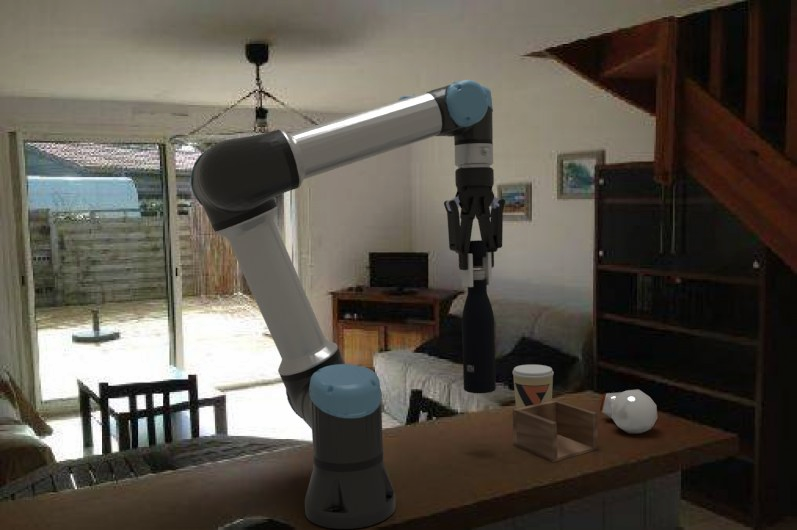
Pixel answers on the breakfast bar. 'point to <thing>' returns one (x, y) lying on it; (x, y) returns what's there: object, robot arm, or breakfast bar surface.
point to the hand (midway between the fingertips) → (477, 285)
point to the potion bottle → (630, 410)
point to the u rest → (555, 430)
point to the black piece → (478, 329)
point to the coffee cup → (532, 384)
